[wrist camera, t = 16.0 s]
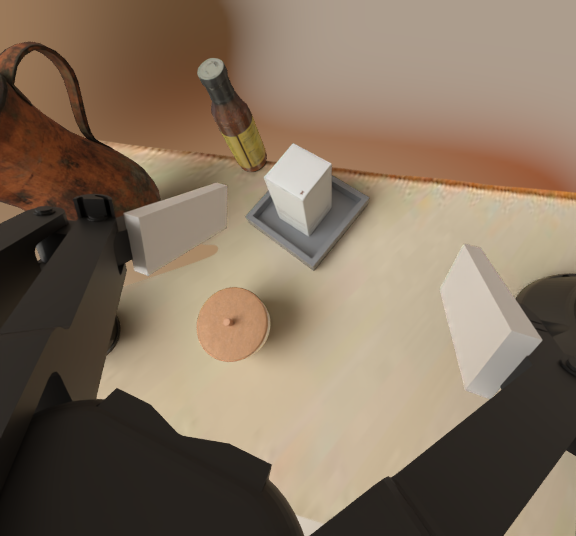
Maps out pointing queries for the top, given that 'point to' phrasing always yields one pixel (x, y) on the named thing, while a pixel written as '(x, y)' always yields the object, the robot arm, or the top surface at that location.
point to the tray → (326, 233)
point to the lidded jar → (233, 324)
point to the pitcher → (59, 150)
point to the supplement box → (301, 188)
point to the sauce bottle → (232, 116)
